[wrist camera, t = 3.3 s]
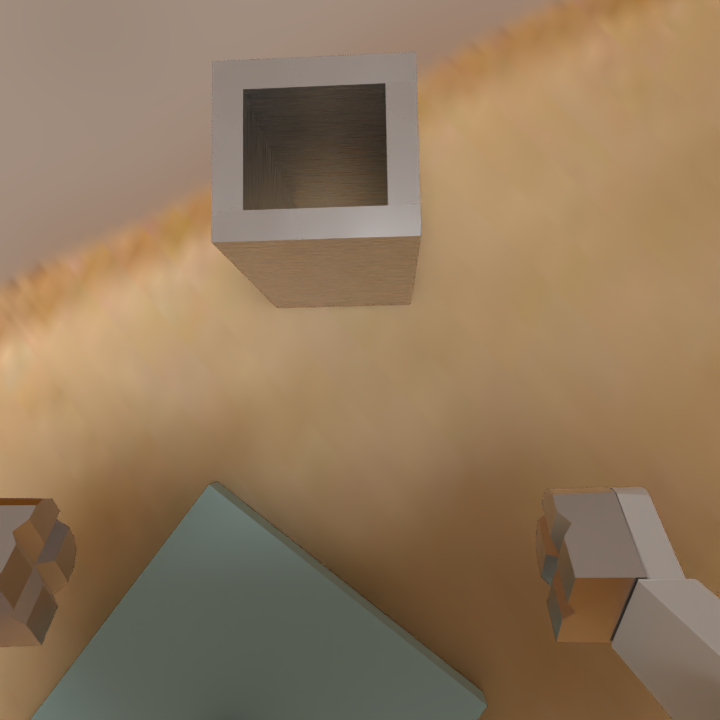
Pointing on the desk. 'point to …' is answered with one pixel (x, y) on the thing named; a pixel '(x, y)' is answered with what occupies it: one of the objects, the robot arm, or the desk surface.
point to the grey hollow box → (318, 176)
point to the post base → (252, 638)
